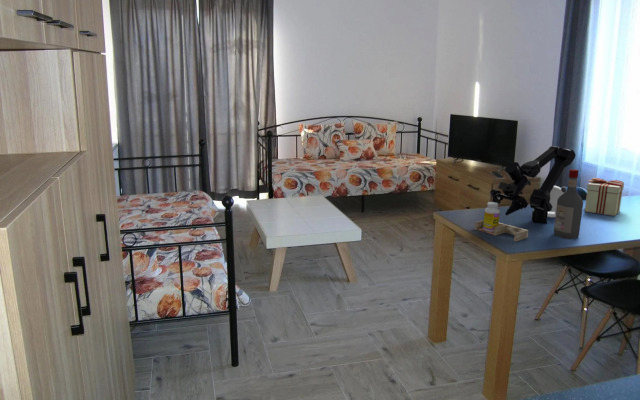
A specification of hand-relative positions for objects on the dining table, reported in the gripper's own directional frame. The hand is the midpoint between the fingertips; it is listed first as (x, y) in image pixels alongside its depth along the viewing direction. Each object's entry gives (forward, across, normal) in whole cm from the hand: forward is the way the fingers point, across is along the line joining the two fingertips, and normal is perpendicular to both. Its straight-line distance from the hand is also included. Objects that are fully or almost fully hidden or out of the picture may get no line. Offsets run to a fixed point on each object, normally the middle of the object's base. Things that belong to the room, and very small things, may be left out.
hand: (498, 212), depth 246 cm
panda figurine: (-25, -6, +38) cm, 46 cm away
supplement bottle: (+9, 0, +3) cm, 9 cm away
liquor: (-9, +21, +21) cm, 31 cm away
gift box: (-46, +1, +59) cm, 75 cm away
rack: (+8, +5, +3) cm, 10 cm away
